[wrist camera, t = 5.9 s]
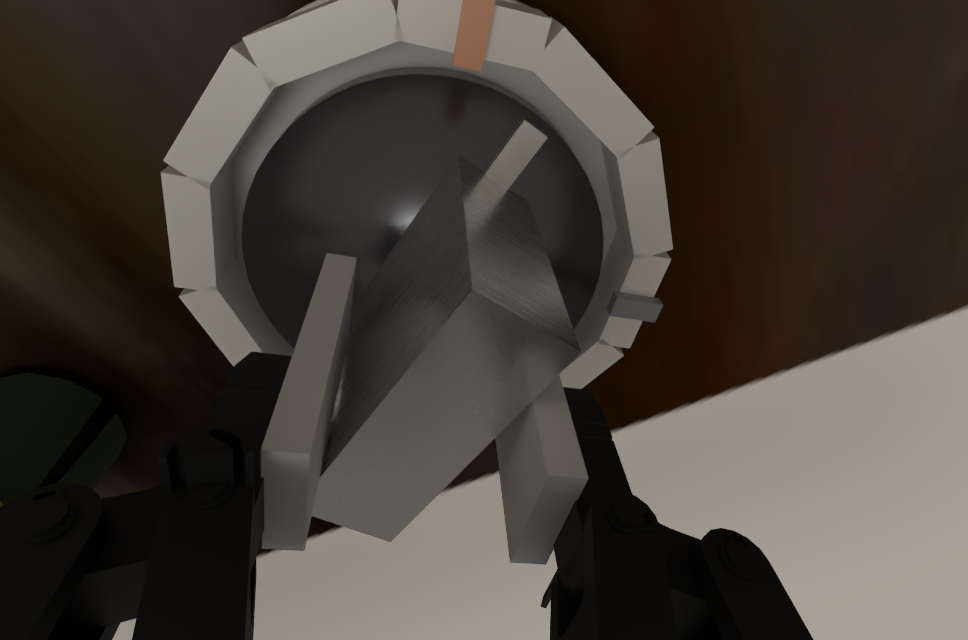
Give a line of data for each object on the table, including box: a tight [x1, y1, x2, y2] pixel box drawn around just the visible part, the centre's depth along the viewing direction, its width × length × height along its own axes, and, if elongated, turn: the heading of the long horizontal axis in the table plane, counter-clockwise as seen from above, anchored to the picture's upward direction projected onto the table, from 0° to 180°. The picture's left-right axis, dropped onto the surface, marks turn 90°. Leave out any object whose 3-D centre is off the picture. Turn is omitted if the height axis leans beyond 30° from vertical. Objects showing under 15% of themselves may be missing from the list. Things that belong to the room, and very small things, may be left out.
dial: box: [241, 67, 604, 542], centre depth 15 cm, size 11×11×8 cm
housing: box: [161, 0, 673, 389], centre depth 19 cm, size 15×15×5 cm
